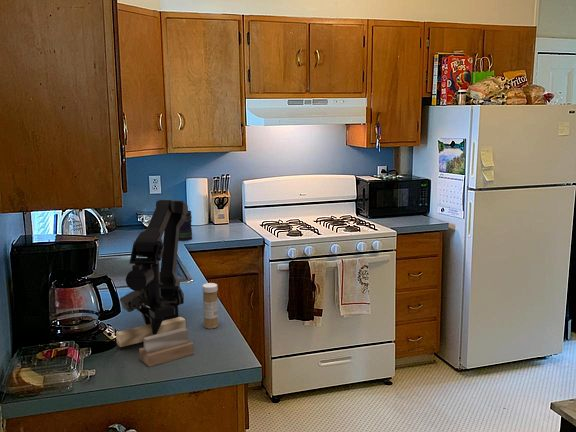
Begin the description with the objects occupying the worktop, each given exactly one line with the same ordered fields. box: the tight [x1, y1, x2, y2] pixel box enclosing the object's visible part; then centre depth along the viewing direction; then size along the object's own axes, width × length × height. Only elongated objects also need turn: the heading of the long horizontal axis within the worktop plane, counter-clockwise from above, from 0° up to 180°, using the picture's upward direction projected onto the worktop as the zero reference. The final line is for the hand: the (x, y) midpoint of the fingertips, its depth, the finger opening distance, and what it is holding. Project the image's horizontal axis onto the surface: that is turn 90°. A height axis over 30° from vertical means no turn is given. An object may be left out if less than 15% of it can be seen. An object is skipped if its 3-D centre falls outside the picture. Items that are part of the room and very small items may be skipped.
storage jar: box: [178, 210, 193, 242], centre depth 302 cm, size 10×10×15 cm
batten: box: [115, 316, 187, 348], centre depth 163 cm, size 20×3×4 cm, turn 128°
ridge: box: [138, 328, 195, 368], centre depth 152 cm, size 6×13×6 cm, turn 129°
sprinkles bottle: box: [201, 282, 219, 330], centre depth 174 cm, size 5×5×13 cm
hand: (152, 332), depth 164 cm, fingers closed on batten, 3 cm apart
